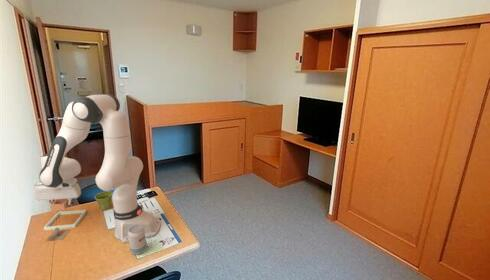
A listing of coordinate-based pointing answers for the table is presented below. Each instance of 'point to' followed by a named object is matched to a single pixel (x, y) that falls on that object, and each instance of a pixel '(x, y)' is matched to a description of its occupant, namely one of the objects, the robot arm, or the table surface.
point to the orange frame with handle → (59, 204)
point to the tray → (48, 227)
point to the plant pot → (104, 200)
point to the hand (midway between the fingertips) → (61, 205)
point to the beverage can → (137, 239)
